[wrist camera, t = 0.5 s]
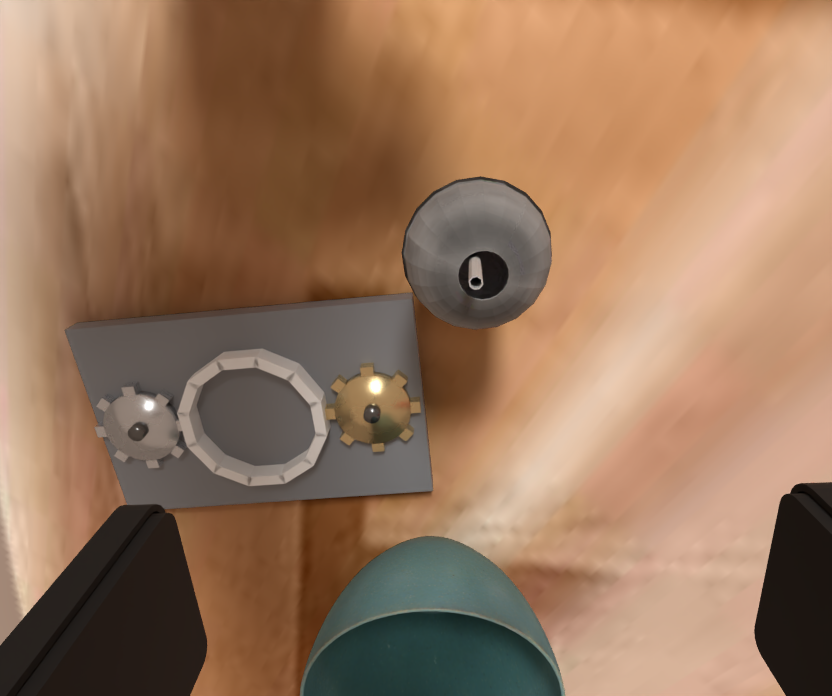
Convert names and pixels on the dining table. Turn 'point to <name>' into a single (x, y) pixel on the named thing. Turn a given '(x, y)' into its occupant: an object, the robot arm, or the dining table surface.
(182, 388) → the gear board
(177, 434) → the gear
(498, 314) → the beverage cup
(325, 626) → the plant pot
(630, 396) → the dining table surface
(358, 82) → the dining table surface
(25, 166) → the dining table surface
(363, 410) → the gear
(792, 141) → the dining table surface
